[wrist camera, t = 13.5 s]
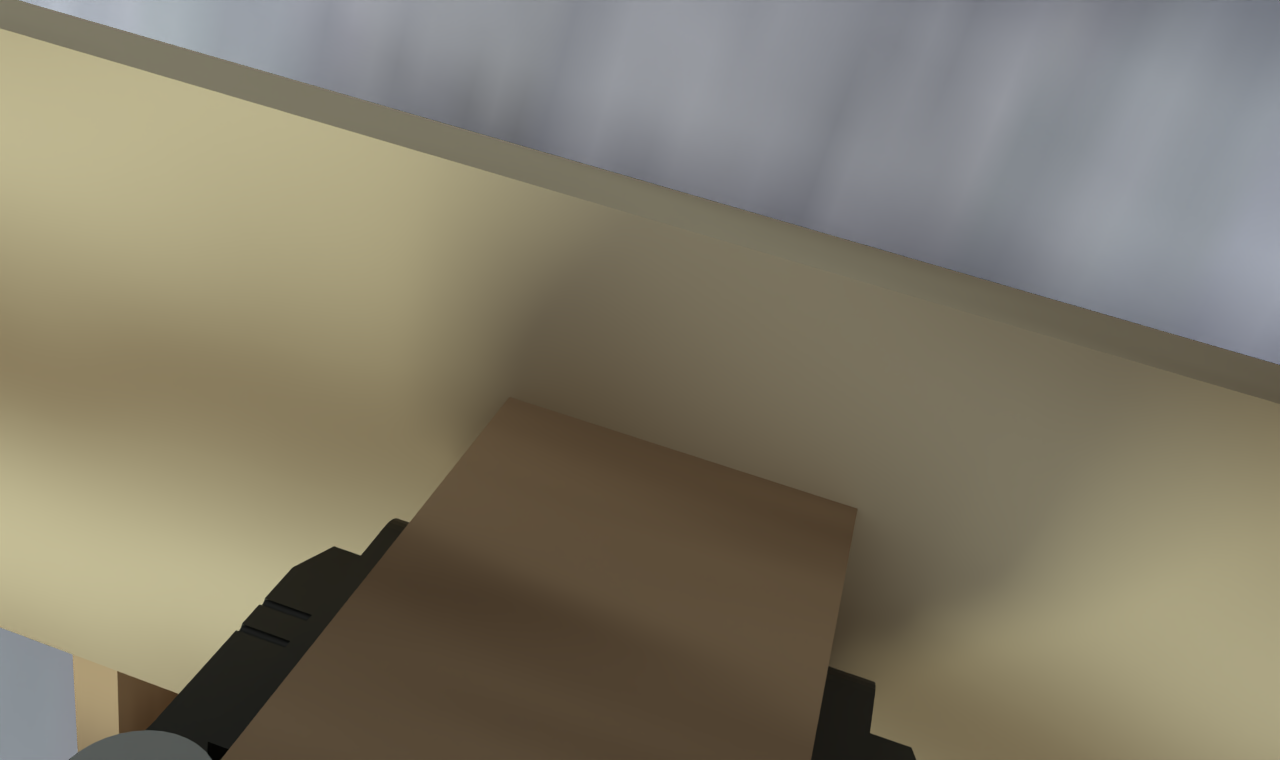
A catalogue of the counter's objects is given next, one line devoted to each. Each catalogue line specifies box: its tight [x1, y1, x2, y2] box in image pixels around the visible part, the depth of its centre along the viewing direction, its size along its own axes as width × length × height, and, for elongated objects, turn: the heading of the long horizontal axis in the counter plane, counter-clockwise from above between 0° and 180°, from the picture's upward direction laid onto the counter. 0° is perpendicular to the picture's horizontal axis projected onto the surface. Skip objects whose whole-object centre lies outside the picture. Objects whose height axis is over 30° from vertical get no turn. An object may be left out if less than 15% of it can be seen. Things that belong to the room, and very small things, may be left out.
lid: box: [0, 0, 1280, 760], centre depth 12 cm, size 9×21×7 cm, turn 79°
